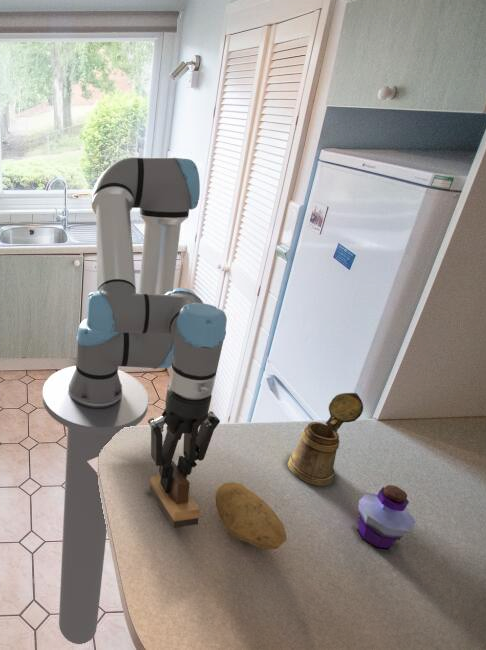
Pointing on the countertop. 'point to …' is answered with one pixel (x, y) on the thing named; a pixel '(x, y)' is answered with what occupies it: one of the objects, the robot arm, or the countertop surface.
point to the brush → (176, 499)
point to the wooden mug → (324, 441)
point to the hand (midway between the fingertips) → (172, 486)
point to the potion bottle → (384, 517)
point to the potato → (249, 516)
